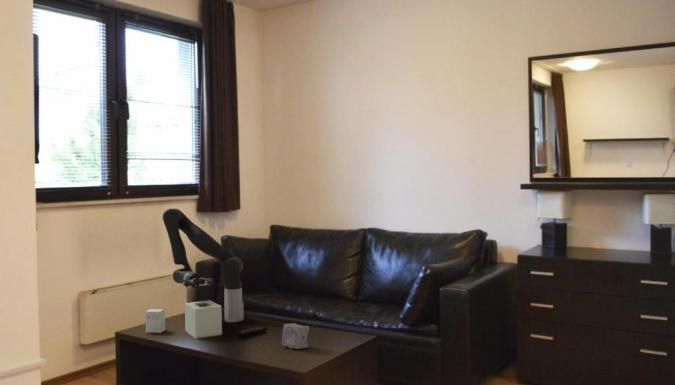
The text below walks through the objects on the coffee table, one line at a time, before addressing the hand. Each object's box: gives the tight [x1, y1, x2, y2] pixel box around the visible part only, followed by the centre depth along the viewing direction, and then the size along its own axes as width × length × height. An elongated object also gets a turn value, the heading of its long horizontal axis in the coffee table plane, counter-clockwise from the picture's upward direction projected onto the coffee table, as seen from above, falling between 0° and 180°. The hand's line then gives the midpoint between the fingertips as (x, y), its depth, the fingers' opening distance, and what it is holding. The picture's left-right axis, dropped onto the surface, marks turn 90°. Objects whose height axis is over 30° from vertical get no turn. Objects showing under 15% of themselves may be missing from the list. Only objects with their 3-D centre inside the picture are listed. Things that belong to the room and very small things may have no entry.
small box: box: [144, 308, 166, 334], centre depth 298 cm, size 8×6×10 cm
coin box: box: [184, 299, 223, 340], centre depth 295 cm, size 13×16×14 cm
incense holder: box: [281, 322, 310, 350], centre depth 269 cm, size 10×8×10 cm
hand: (203, 284), depth 293 cm, fingers open, 8 cm apart
